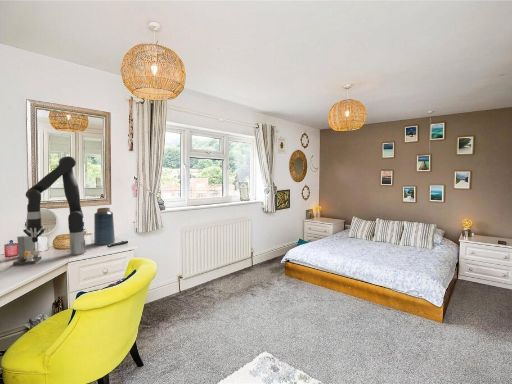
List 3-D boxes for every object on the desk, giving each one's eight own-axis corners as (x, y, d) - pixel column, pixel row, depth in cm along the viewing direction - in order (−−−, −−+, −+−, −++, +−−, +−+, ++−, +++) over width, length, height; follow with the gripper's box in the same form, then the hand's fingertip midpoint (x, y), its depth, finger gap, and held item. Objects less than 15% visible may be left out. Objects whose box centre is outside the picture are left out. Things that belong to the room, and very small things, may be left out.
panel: (42, 258, 193) (41, 250, 193) (33, 264, 182) (33, 255, 181) (22, 260, 190) (21, 251, 190) (12, 265, 178) (11, 256, 178)
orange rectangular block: (32, 257, 188) (32, 250, 188) (29, 259, 185) (29, 252, 184) (25, 258, 187) (24, 251, 186) (22, 260, 183) (21, 252, 183)
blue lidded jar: (97, 241, 245) (96, 207, 243) (117, 240, 249) (116, 207, 247) (91, 246, 229) (89, 209, 227) (112, 244, 233) (110, 209, 231)
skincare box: (25, 258, 195) (23, 237, 194) (17, 257, 196) (16, 236, 195) (36, 254, 203) (35, 234, 202) (29, 254, 205) (28, 234, 204)
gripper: (47, 216, 191) (48, 240, 192) (25, 217, 187) (26, 241, 188) (42, 218, 184) (43, 243, 185) (19, 219, 180) (20, 244, 181)
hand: (35, 242), depth 186 cm, fingers closed
